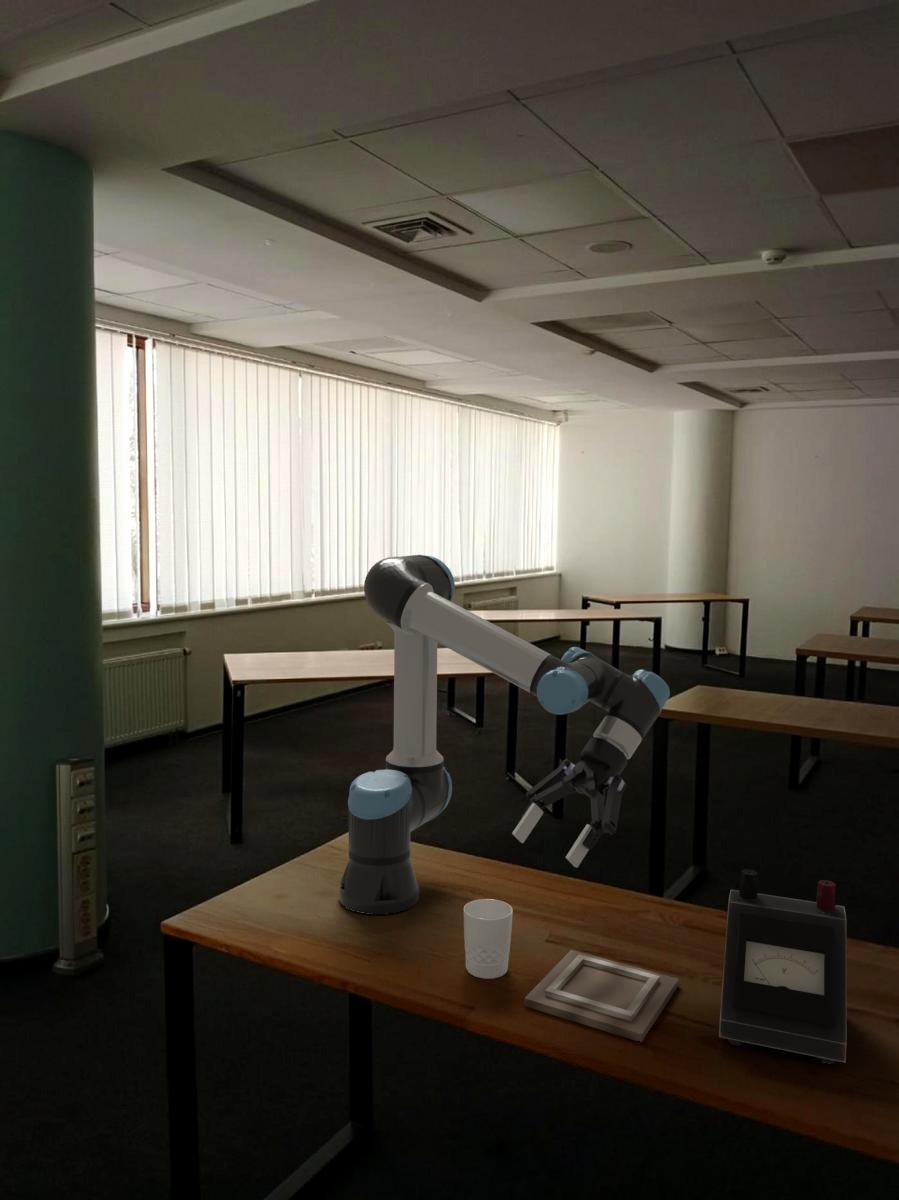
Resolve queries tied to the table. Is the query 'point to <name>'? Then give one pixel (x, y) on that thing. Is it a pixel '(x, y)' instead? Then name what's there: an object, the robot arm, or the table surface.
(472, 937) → the white cup
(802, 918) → the voltmeter
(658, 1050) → the table surface
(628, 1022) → the framed square tray
